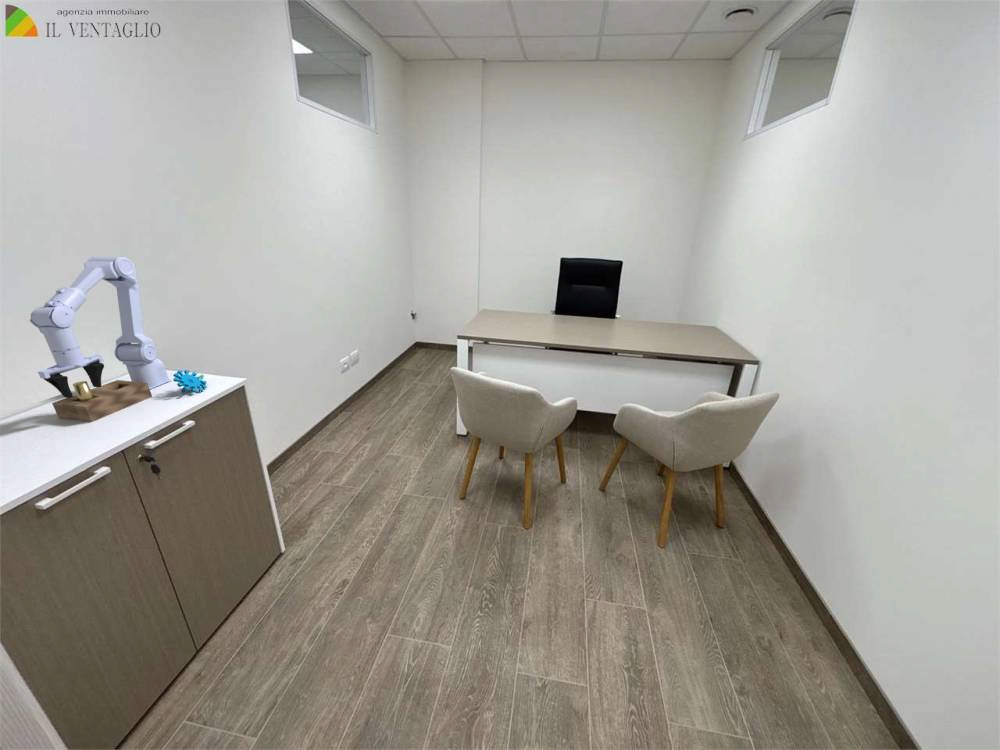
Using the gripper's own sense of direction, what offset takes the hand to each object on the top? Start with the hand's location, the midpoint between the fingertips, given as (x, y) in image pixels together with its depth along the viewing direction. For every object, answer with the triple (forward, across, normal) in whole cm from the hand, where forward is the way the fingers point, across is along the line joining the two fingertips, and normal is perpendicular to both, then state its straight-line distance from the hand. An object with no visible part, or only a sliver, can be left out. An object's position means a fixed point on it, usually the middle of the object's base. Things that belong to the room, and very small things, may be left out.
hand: (83, 391), depth 118 cm
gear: (+8, +20, -15) cm, 27 cm away
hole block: (+7, +4, 0) cm, 8 cm away
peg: (+7, 0, 0) cm, 7 cm away
